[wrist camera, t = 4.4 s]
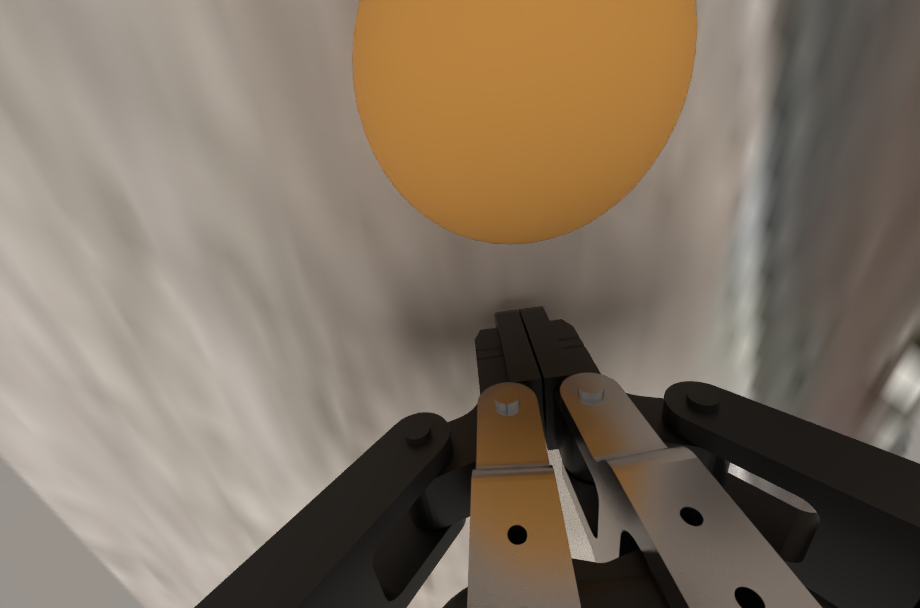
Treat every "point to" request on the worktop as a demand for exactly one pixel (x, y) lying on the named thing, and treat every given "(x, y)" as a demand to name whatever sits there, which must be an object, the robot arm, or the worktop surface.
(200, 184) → the worktop surface
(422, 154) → the ball
